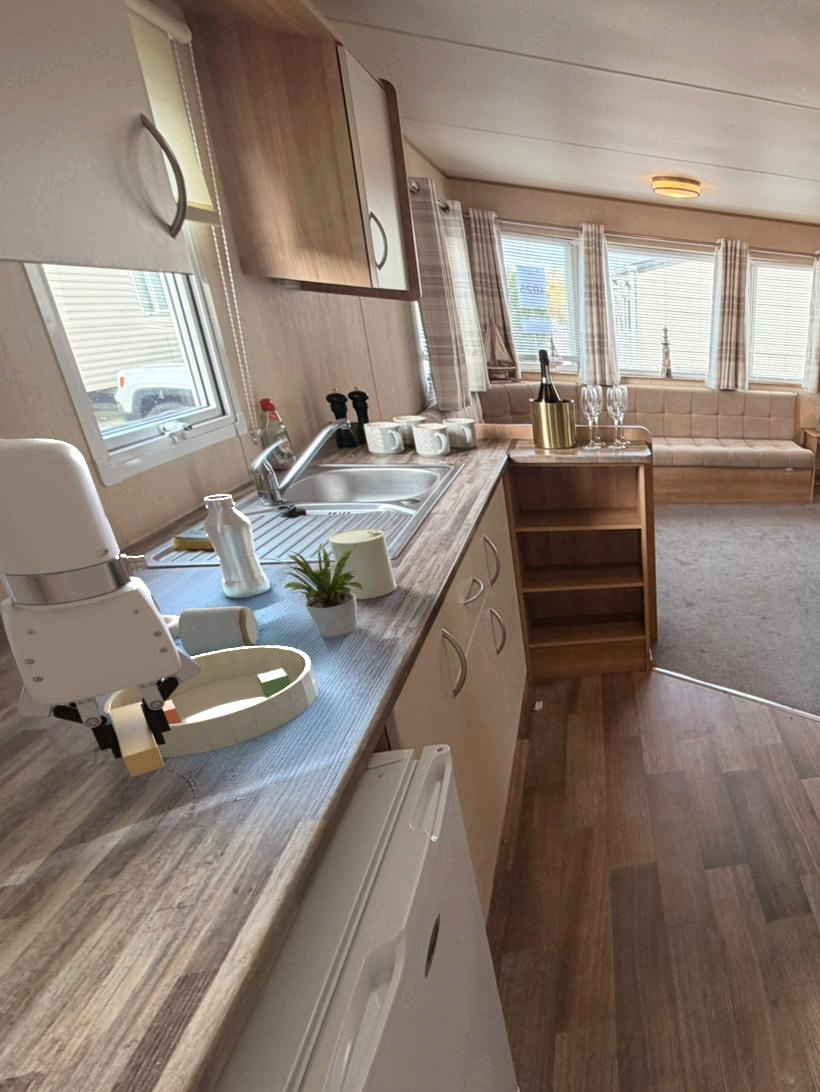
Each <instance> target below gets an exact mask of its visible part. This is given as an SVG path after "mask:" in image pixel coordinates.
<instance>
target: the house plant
mask: <svg viewBox="0 0 820 1092" xmlns="http://www.w3.org/2000/svg"><path fill="white" fill-rule="evenodd" d="M322 543H323V542H321V543H320V544H319V546H318V550H317V558H318V559H317V560H318V567H319V569H317V570H315V571H314V570H313V569H312V567H311V565H310V564H309V562H308V561H307V560H306V559H305V558H304V556H302V555H301V554H300V553H297V552H295V551H291V550H290V551H289V552H290V553H293V554H295V555H296V556H295V555H293V554H290V553H287V556H288V557H289V558H290V559H291V560H293V561H294V562H295V563H296V565H298V566H299V567H298V566H291V565H290V564H288V563H287V562H285V561H283V560H279V559H276V558H269V560H271V561H275V562H276V561H277V562H279V563H282V564H284V565H286V566H288V567H285V568H281V569H280V571H283V570H286V569H288V568H289V569H292V570H294V571H295V572H296V573H298V574H299V575H297V574H296V573H292V572H286V574H287V575H291V576H293V577H294V578H296V579H298V580H299V581H300V582H302V583H300V582H297V581H296V582H295V581H291V582H288V583H286V584H285V585H284V586H283V589H288V588H289V590H288V592H289V591H294V592H291V593H290V595H292V594H295V593H297V591H295V590H304V591H300V593H301V594H304V595H305V598H306V602H305V607H306V609H307V611H308V613H309V614H310V616H311V618H312V620H313V622H314V624H315V626H316V628H317V630H318V632H319V633H320V636H323V637H327V638H330V637H331V638H332V637H339V636H344V635H345V636H346V635H348V634H350V633H353V632H354V631H356V630H357V628H358V614H357V613H358V612H357V599H356V596H355V595H354V594H353V593H350V588H348V587H347V585H350V586H354V587H357V588H359V589H361V590H362V586H361V584H359V583H357V582H350V583H349V581H350V580H351V579H352V578H354V577H356V576H355V575H358V574H350V573H353V572H356V571H360V570H356V571H351V572H347V573H344V574H341V572H342V570H343V568H344V567H345V565H346V564H347V563H348V562H349V561H350V560H349V561H348V562H347V563H346V564H345V562H346V561H347V559H348V558H349V556H350V553H351V551H352V550H353V549H354V548H355V547H356V546H357V545H358V544H356V545H354V546H352V547H350V548H349V549H348V550H347V551H346V552H345V553H344V554H343V556H342V557H341V559H340V560H339V562H338V563H337V565H336V564H335V567H334V568H333V567H332V566H331V561H330V560H331V559H330V557H331V556H332V555H333V553H334V552H335V551H336V550H335V551H334V552H331V553H330V554H328V551H327V550H326V549H325V548H324V547H322ZM321 549H322V554H321ZM337 549H338V548H337ZM321 555H322V556H321ZM297 556H298V557H299V558H300V559H299V558H298V557H297ZM356 557H358V556H356ZM354 558H355V557H354ZM352 559H353V558H352ZM261 560H268V558H264V557H263V558H261ZM322 560H323V565H324V566H322ZM344 564H345V565H344ZM331 569H332V570H333V569H334V572H333V575H332V573H331V572H332V571H331ZM283 574H285V572H282V573H279V574H278V576H279V575H283ZM340 574H341V575H340ZM301 576H302V577H303V578H305V579H306V580H307V581H308V582H310V584H309V583H308V582H307V581H306V580H305V579H303V578H302V577H301ZM331 576H332V577H331ZM311 584H312V585H313V586H314V587H315V588H313V586H312V585H311ZM290 588H291V589H290ZM305 591H306V592H305Z"/></svg>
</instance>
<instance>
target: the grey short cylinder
mask: <svg viewBox="0 0 820 1092" xmlns="http://www.w3.org/2000/svg"><path fill="white" fill-rule="evenodd" d="M179 616H180V618H179V635H180V636H179V639H180V644H181V646H182V649H183V651H184V652H185V653H186V654H187V655H188V656H190V657H195V656H198V655H202V654H206V653H211V652H215V651H220V650H225V649H232V648H239V647H248V646H256V644H257V643H258V639H259V627H258V622H257V618H256V616H255V612H253V610H252V609H250V608H249V607H247V606H240V605H239V606H238V605H232V606H217V607H195V608H186V609H183V610H182V612H181V613H180V615H179Z"/></svg>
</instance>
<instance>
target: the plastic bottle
mask: <svg viewBox="0 0 820 1092" xmlns="http://www.w3.org/2000/svg"><path fill="white" fill-rule="evenodd" d="M203 499H204V503H205V508H206V509H207V510H209V513H208V514H207V516H206V518H205V520H204V522H203V530H204V532H205V535H206V537H207V539H208V540H209V542H210V544H211V545H212V547H213V550H214V552H215V555H216V557H217V561H218V562H219V567H220V571H221V576H222V588H223V592H224V594H225V595H226V597H227V598H232V599H240V598H241V599H242V598H248V597H249V598H250V597H254V596H258V595H262V594H264V593H266V592H268V591H269V590H270V588H271V586H270V584H271V583H270V581H269V579H268V577H267V576H266V574H265V572H264V571H263V568H262V566H261V563H260V561H259V558H258V556H257V552H256V548H255V544H254V543H255V542H254V535H253V525H252V522H251V521H250V520H249V518H248V517H247V516H246V515H244V514H243V512H241V511H239V510H237V509H236V508H235V507H236V503H235V501H234V499H233V496H232V495H231V494H215V495H209V496H206V497H204V498H203Z"/></svg>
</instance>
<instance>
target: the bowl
mask: <svg viewBox="0 0 820 1092" xmlns="http://www.w3.org/2000/svg"><path fill="white" fill-rule="evenodd" d="M190 657H191V658H192V659H193V660H195V661H196V662H197V663H198V664H199V666H200V668H201V671H200V672H199V673H198V674H196V675H194V676H193V677H191V678H190V679H188V680H187V681H185V682H182V683H181V684H179V685H178V687H177V688H176V689H175V690H174V692H173V693H172V694H171V695H170V696H169V698H168V699H167V700H166V701H168V700H172V701H173V703H174V706H175V708H176V711H177V713H178V715H179V718H180V720H181V723H178V724H169V726H170V729H171V730H170V731H167V732H164V733H162V734H163V736H164V739H165V742H166V744H162V745H159V744H158V748H159V751H160V754H161V756H162V759H163V758H178V757H187V756H194V755H199V754H205V753H209V752H214V751H218V750H222V749H225V748H229V747H233V746H235V745H238V744H242V743H245V742H249V741H250V740H253V739H256V738H258V737H260V736H264V735H265V734H268V733H270V732H272V731H274V730H276V729H278V728H280V727H282V726H284V725H286V724H288V723H289V722H291V721H292V720H294V719H295V718H297V717H298V716H300V715H301V714H302V713H304V712H305V711H306V710H307V709H308V708H309V707H310V706H311V705H312V704H313V703H314V701H316V698H317V697H318V695H319V690H320V687H319V684H318V681H317V677H316V674H315V669H314V668H313V664H312V661H311V657H310V655H308V654H306V652H304V651H302V650H300V649H297V648H295V647H289V646H284V645H254V646H248V647H239V648H232V649H225V650H220V651H215V652H211V653H206V654H202V655H198V656H195V657H192V656H190ZM280 668H283V670H284V671H285V672H286V674H287V675H288V677H289V680H290V685H289V686H287V687H286V688H285V689H283V690H281V691H279V692H277V693H276V694H274V695H272V696H270V697H268V698H266V697H265V695H264V694H263V692H262V689H261V686H260V683H259V680H258V677H257V675H259V674H263V673H266V672H270V671H273V670H277V669H280ZM155 682H157V681H155ZM142 698H143V695H142V693H141V691H140V689H139V687H138V686H135V687H131V688H127V689H123V690H119V691H115V692H113V694H111V696H110V697H109V698H108V699H107V700H106V702H104V705H103V710H104V711H105V712H106V713H109V714H110V710H112V709H116V708H119V707H123V706H127V705H131V704H134V703H138V702H142ZM142 704H143V703H142ZM110 716H111V714H110ZM111 719H112V717H111Z"/></svg>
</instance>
